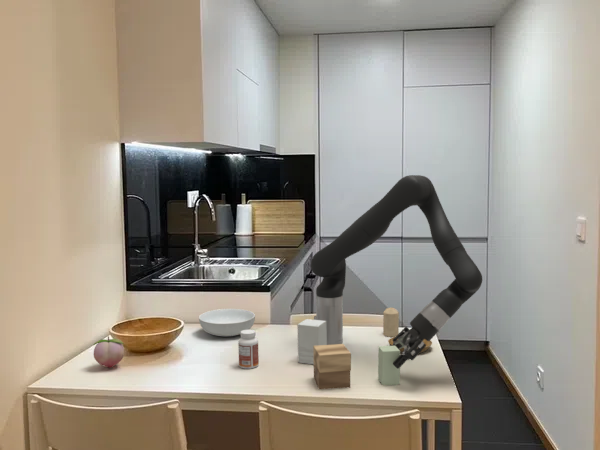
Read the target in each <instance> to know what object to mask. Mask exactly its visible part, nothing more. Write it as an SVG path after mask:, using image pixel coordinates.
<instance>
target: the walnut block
mask: <svg viewBox="0 0 600 450" xmlns="http://www.w3.org/2000/svg"><path fill="white" fill-rule="evenodd" d="M313 380H314V381H315V384H316V387H317V389H318V390H329V389H331V390H332V389H345V388H347V387H349V388H351V371H338V372H323V373H320V372H319V371H318V369H317V367H316V366H315V364H313ZM347 389H348V388H347Z"/></svg>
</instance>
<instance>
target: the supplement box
mask: <svg viewBox="0 0 600 450" xmlns="http://www.w3.org/2000/svg"><path fill="white" fill-rule="evenodd" d="M296 326H297V362H298V363H301V364H308V365H314V362H313V346H317V345H327V330H326V321H322V320H314V319H310V318H305V319H304V320H302V321H301V322H299V323H298V324H297V325H296Z"/></svg>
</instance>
